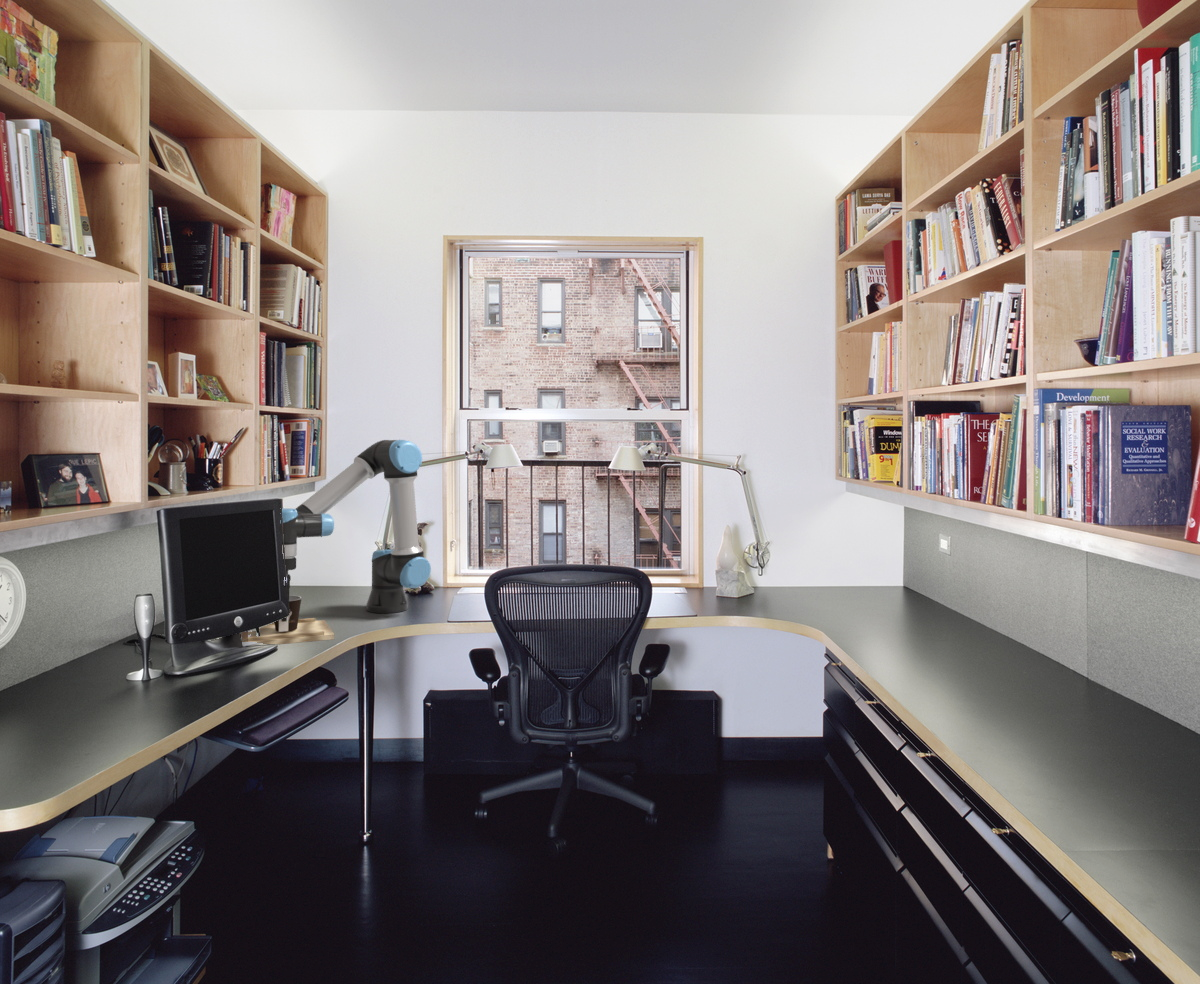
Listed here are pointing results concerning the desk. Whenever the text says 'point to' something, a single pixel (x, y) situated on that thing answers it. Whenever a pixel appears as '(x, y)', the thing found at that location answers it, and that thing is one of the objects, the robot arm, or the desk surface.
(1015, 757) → the desk surface
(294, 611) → the coffee mug
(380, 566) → the robot arm
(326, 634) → the channel board
